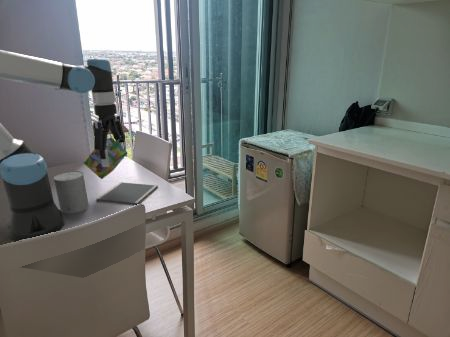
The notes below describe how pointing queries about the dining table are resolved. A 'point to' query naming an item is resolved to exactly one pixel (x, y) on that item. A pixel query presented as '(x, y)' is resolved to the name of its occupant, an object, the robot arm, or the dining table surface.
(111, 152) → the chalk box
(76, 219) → the dining table surface
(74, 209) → the grey cylinder
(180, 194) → the dining table surface
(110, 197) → the mat
